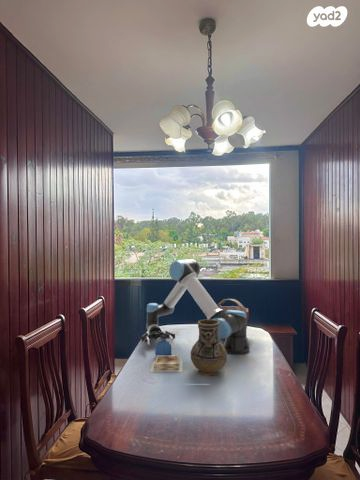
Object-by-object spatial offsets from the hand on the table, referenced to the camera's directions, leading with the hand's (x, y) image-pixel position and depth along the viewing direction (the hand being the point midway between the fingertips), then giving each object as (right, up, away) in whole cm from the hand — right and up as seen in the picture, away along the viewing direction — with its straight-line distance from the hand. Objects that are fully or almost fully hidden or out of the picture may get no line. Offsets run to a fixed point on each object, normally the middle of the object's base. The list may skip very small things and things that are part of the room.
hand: (160, 341), depth 199 cm
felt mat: (+4, -7, -20) cm, 22 cm away
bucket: (+46, -6, +30) cm, 55 cm away
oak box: (+4, -7, -20) cm, 21 cm away
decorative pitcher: (+25, -7, -27) cm, 38 cm away
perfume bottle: (+2, -7, -6) cm, 9 cm away
